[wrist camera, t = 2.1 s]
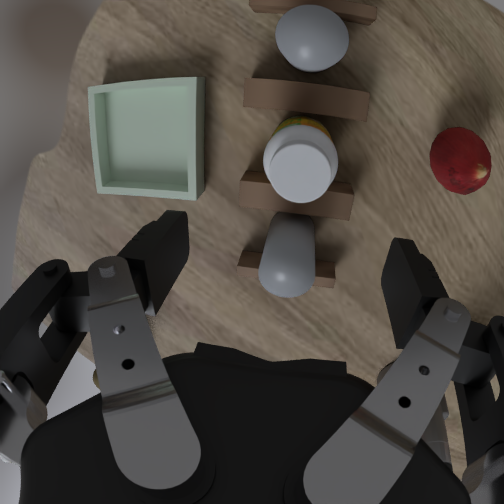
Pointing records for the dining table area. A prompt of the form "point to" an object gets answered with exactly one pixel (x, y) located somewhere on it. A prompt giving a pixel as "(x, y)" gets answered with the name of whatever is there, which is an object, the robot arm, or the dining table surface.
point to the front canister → (312, 38)
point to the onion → (460, 160)
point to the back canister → (288, 255)
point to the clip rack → (309, 101)
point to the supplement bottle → (300, 159)
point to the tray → (149, 137)
